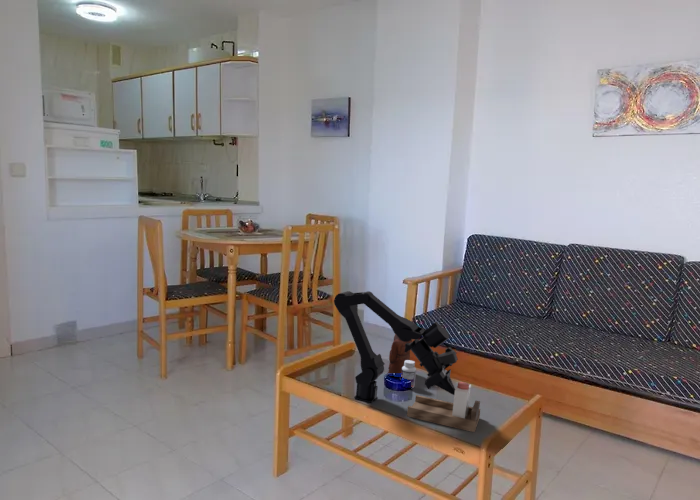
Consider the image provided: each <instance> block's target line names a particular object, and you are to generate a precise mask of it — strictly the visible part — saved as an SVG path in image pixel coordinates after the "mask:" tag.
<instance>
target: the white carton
mask: <svg viewBox="0 0 700 500" xmlns="http://www.w3.org/2000/svg"><path fill="white" fill-rule="evenodd" d="M471 389H472V384H471V383H470V384H469V383H468V382H465V381H458V383H457V385H456V387H455V394H454V395H453V396H454V397H453V402H452V403H453V412H452V416H456V417H460V418H465V419H466V417H467V415H468V409H469V407H470V400H471V399H470V398H471Z"/></svg>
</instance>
